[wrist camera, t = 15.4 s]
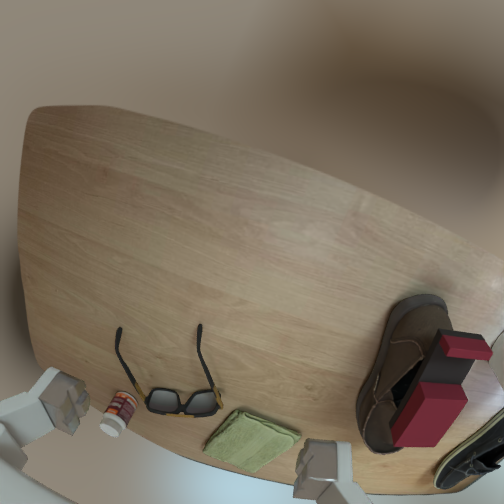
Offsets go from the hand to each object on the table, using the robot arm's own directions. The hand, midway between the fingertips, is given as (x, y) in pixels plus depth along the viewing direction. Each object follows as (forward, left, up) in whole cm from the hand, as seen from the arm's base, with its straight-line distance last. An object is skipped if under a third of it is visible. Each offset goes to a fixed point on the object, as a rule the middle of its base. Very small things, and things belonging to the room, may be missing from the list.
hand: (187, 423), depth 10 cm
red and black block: (+13, +22, -18) cm, 32 cm away
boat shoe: (+40, +54, -28) cm, 73 cm away
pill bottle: (+41, -20, -28) cm, 54 cm away
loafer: (+21, +23, -28) cm, 42 cm away
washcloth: (+43, +4, -28) cm, 52 cm away
